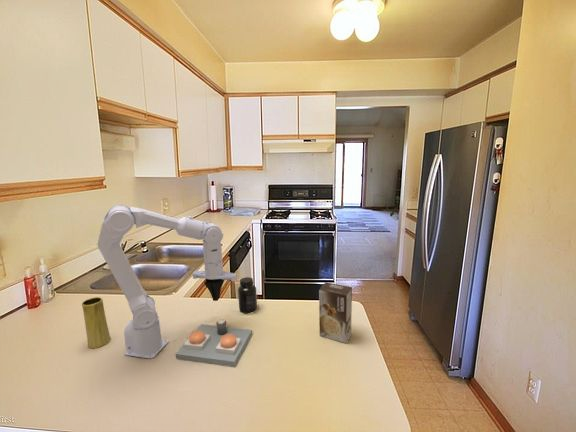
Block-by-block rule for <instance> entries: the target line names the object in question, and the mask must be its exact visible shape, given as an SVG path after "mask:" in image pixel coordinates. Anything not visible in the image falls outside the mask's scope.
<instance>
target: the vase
mask: <svg viewBox="0 0 576 432" xmlns="http://www.w3.org/2000/svg"><path fill="white" fill-rule="evenodd" d="M81 306H82V311H83V318H84V323H85V324H84V325H85V332H86V338H87V339H86V340H87V348H90V349H98V348H102V347H104V346H105V345H107V344H108V343H109V342H110V341H111V336H110V332H109V327H108V323H107V316H106V311H105V307H104V301H103V297H99V296H95V297H90V298H87V299H85V300H84V301H82V303H81Z"/></svg>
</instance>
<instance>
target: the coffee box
mask: <svg viewBox="0 0 576 432" xmlns="http://www.w3.org/2000/svg"><path fill="white" fill-rule="evenodd" d="M352 298H353V287H351V286H347V285H342V284H337V283H336V284H335V283H332V282H324V283H323V285H322V286H320V289H318V299H319V300H318V304H319V305H318V311H319V313H318V314H319V318H318V320H319V337H322V338H324V339H325V338H326V339H329V340H333V341H336V342H340V343H342V344H343V343H344V344H348V341H349V340H350V338H351V335H352V310H353V309H352V307H353V305H352V303H353V301H352V300H353V299H352Z"/></svg>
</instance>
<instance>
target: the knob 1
mask: <svg viewBox="0 0 576 432" xmlns="http://www.w3.org/2000/svg"><path fill="white" fill-rule="evenodd" d="M188 339H189V342H190V343H191V344H200V343H201V342H203V341H204V340H205V332H203V331H196V330H194V331H193V332H191V333H190V334H189V335H188Z"/></svg>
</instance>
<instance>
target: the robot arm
mask: <svg viewBox="0 0 576 432" xmlns="http://www.w3.org/2000/svg"><path fill="white" fill-rule="evenodd" d="M134 225H135V228H136V229H137V228H141V227H143V226H146V225H150V226H153V227H154V226H156V227H160V228H166V229H170V230H174V231H176V233H177V235H178V236H182V237H186V238H190V239H194V240H198V241H202V250H203V253H202V254H203V263H204V265H203V266H204V270H195V271H194V272H192V279H194V280H196V279H204V280H205V281H204V286H205V287H206V288H207V290H208V292H209V294H210V295H211V298H212V301H213V302H217V301H219V299H220V297H221V291H222V288H223V285H224V282H225V281H231V282H232V283H233V282H236V281H237V280H238V277H237V273H234V272H228V271H227V270H226V271H225V270H224V266H223V265H224V264H223V263H224V262H223V252H222V251H223V250H222V247H223V246H222V240H223V239H224V238H223V237H224V233H223V231H222V229H221V228H220V227H219V226H218V225H216V224H215V223H212V222H211V221H207V220H204V221H202V220H198V219H195V218H194V217H193V216H191V215H188V216H182V217H181V218H178V219H177V218H176V217H175V218H174V217H171V216H168V215H164V214H161V213H158V212H155V211H152V210H148V209H144V208H141V207H137V206H128V205H123V204H116V205H114V206H112V207H110V209H109V210H108V211H107V213H106V214H105V215H104V217H103V220H102V223H101V228H100V231H99V235H98V241H97V244H96V245H97V248H98V250H99V252H100V254H101V255H102V257H103V258H104V261H105V262H106V265H107V266H108V267H109V270H110V271H111V273H112V275H113V277H114V279H115V281H116V282H117V284H118V286H119V288H120V289H121V291H122V293H123V295H124V297H125V298H126V300H127V303H128V306H129V309H130V312H131V313H132V320H130V321H129V322H127V324H126V325H125V327H124V331H123V336H124V337H123V338H124V343H125V350H126V351H125V352H124V356H127V357H129V356H131V357H136V358H144V359H154V358H155V357H156V356H157V355H158V354H159V353H160V351H162V350H163V348H164V347H165V346H166V345H168V343H169V340H168V339H167V340H166V339H162V333H161V331H162V330H161V324H160V317H159V315H158V311H157V309H156V301H155V299H154V298H153V297H152V296H151V295H148V293H147V292H146V290H145V289H144V287H143V286H142V284H141V283H140V282H141V281H139V278H138V276H137V274H136V273H135V270H134V269H133V267H132V265H131V262H130V261H129V259H128V257H127V255H126V253H125V251H124V250H123V247H122V246H121V244H120V243H121V242H122V240H123V239H124V236H126V234H127V233H129V231H131V230H132V228H133V227H134Z"/></svg>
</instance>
